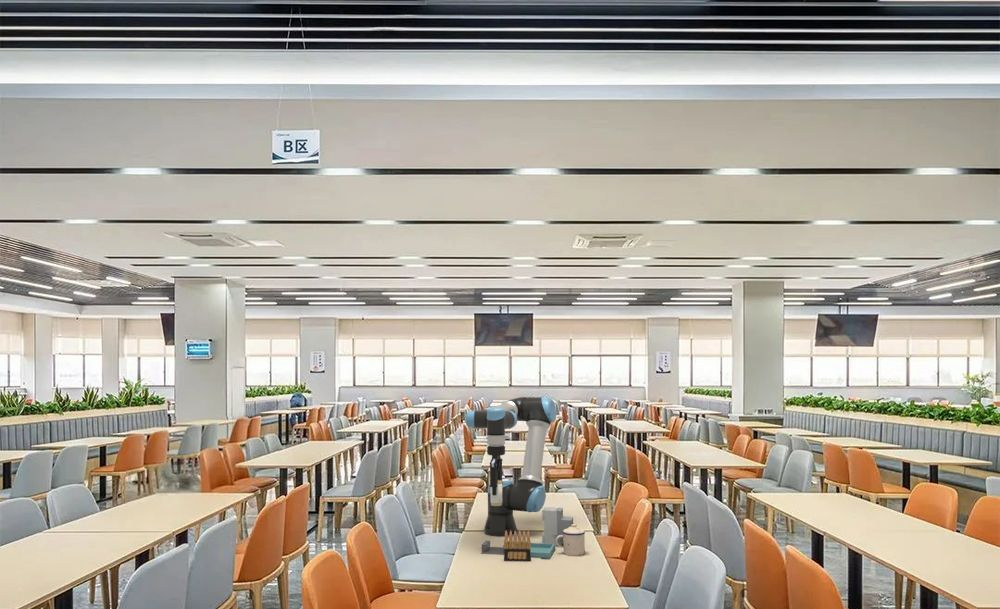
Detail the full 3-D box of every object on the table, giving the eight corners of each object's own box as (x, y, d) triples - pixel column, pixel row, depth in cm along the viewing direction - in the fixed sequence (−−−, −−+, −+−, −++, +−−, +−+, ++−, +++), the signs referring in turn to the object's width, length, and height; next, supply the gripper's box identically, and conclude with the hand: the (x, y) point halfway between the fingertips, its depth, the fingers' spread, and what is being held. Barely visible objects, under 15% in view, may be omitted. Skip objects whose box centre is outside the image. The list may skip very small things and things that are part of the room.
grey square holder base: (487, 547, 317) (487, 539, 317) (512, 548, 315) (512, 540, 315) (480, 554, 305) (480, 545, 306) (506, 555, 303) (506, 547, 303)
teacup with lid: (583, 550, 312) (583, 521, 312) (586, 555, 302) (586, 526, 303) (554, 550, 311) (554, 522, 312) (557, 556, 302) (556, 526, 303)
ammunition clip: (531, 561, 295) (530, 530, 296) (530, 562, 293) (530, 531, 294) (504, 560, 296) (503, 529, 297) (503, 562, 294) (503, 530, 295)
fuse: (492, 503, 315) (491, 479, 315) (503, 504, 314) (503, 479, 314) (489, 505, 310) (489, 481, 311) (501, 506, 309) (500, 481, 309)
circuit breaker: (575, 547, 316) (575, 511, 318) (542, 546, 319) (541, 510, 320) (577, 543, 324) (576, 508, 325) (544, 542, 327) (544, 507, 328)
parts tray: (518, 548, 316) (518, 542, 316) (555, 549, 313) (555, 543, 313) (511, 557, 301) (510, 551, 301) (549, 559, 297) (549, 553, 298)
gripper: (492, 442, 323) (492, 497, 321) (482, 447, 306) (482, 505, 304) (509, 443, 322) (509, 498, 320) (500, 447, 304) (500, 506, 302)
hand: (496, 501), depth 312 cm, fingers closed on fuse, 5 cm apart
